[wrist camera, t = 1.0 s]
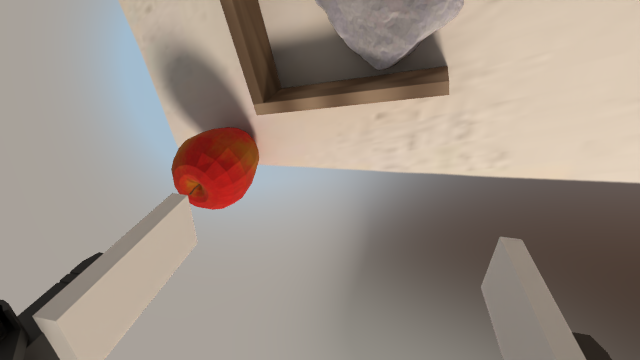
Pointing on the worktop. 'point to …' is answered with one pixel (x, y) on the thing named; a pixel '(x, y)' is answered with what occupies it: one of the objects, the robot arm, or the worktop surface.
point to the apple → (215, 167)
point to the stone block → (387, 25)
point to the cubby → (273, 99)
